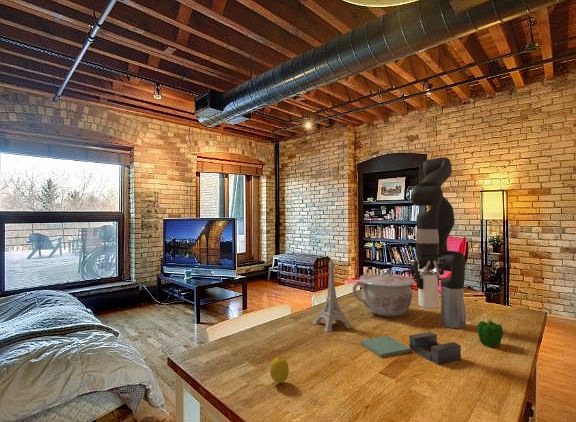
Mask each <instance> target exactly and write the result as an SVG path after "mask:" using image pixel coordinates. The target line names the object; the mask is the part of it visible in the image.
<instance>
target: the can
mask: <svg viewBox="0 0 576 422" xmlns="http://www.w3.org/2000/svg"><path fill="white" fill-rule="evenodd" d="M420 273H421V272H420ZM422 279H423V289H419V288H417V289H418V293H417V294H418V295H417V296H418V298H417V299H418V306H419V307H421V308H423V309H437V308H438V307H439V287H438V278H437V276H436V273H434V272H431V271H426V273H424V276H423V278H422Z"/></svg>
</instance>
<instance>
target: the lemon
mask: <svg viewBox="0 0 576 422" xmlns="http://www.w3.org/2000/svg"><path fill="white" fill-rule="evenodd" d="M289 370H290V369H289V365H288V362H287V360H286V359H285V358H284V357H281V356H277V357H275V358H274V359H273V360H272V361H271V364H270V369H269V372H270V373H269V374H270V376H271V377H270V378H271V379H272V381H274V382H276V383H278V385H280V384H282V383H283V382H285V381H286V380H287V378H288V376H289Z"/></svg>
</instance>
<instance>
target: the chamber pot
mask: <svg viewBox="0 0 576 422" xmlns="http://www.w3.org/2000/svg"><path fill="white" fill-rule="evenodd" d="M413 285H416V280H414V279H413V278H411V277H408V276H403V275H397V274H392V272H389V271H384V272H382V273H378V274H377V273H376V274H375V273H374V274H368V275H364V276H361V277H359V279H358V280H357V281H356V282H354V283H353V286H352V291H351V292H352V294H353V296H354V298H356V299H357V300H358V301H360V302H361V303H363V305H364V306H365V307H366V308H367V309H368V310H369V312H371V313H372V314H375V315H378V316H381V317H388V318H392V317H399V316H402V315H404V314H406V313H407V311H408V309H409V308H410V307H411V305H412V302H413V301H412V300H413V290H412V288H411V286H413ZM358 286H360V287H361V296H362V298H361V297H360V296H359V295H358V294H357V287H358Z"/></svg>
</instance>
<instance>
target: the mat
mask: <svg viewBox="0 0 576 422" xmlns="http://www.w3.org/2000/svg"><path fill="white" fill-rule="evenodd" d="M359 344H360V345H362V346H363V347H365V348H366V349H368V350H369V351H370V352H372V353H373V354H374V355H376V356H378V357H379V358H386V357H391V356H395V355H396V356H397V355H401V354H406V353H411V352H412V350H411V348H410V346H407V345H405V344H403V343H402V342H400V341H398V340H396V339H394V338H393V337H391V336H389V335H384V336H378V337H374V338H368V339H362V340H360V341H359Z"/></svg>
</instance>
